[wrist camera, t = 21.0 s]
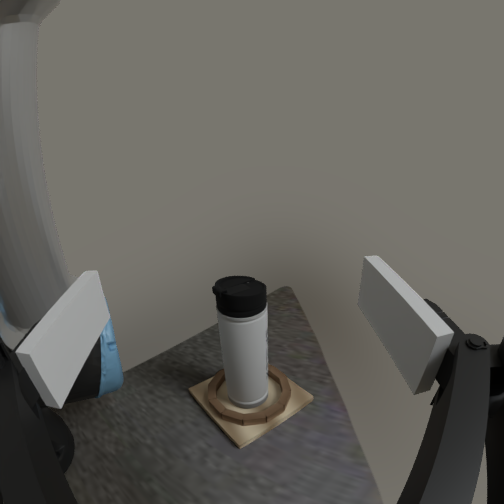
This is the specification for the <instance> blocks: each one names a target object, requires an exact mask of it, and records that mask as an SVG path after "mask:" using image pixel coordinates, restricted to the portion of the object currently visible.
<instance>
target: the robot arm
mask: <svg viewBox="0 0 504 504" xmlns="http://www.w3.org/2000/svg"><path fill="white" fill-rule="evenodd" d="M59 3H60V0H0V504H3V500H4V504H78V503H77V501H76V499H75V497H74V495H73V493H72V491H71V489H70V487H69V484H68V482H67V480H66V478H65V476H64V473H65V472H66V470H67V469H68V467H69V466H70V464H71V461H72V459H73V455H74V439H73V436H72V433H71V431H70V430H69V428H68V427H67V425H66V424H65V422H64V421H63V420H62V419H61V417H60V416H59V415H57V414H56V413H55V412H53V411H52V410H51V409H50V408H48V407H54V408H58V409H61V408H62V406H63V404H67V403H72V402H77V401H81V400H86V399H91V398H99V397H101V396H102V395H104V394H107V393H110V392H114V391H116V390H118V389H119V388H120V387H121V386H122V384H123V372H122V367H121V362H120V358H119V353H118V349H117V346H116V341H115V335H114V331H113V326H112V321H111V317H110V312H109V308H108V304H107V301H106V298H105V297H104V294H103V290H102V286H101V283H100V278H99V275H98V271H85V272H84V273H83V274H82V275H81V276H80V277H79V278H77V277H76V276H73V275H71V274H69V271H68V268H67V265H66V261H65V258H64V255H63V251H62V248H61V244H60V241H59V237H58V233H57V229H56V225H55V221H54V217H53V212H52V208H51V203H50V198H49V193H48V189H47V183H46V177H45V171H44V164H43V158H42V150H41V143H40V132H39V121H38V107H37V44H38V29H39V25H40V24H41V22H42V21H43V20H44V19H45V18H46V16H48V14H49V13H51V12H52V11H53V10H54V9H55V8H56V7H57V6H58V5H59ZM358 306H359V308H360V309H361V311H362V312H363V314H364V315H365V317H366V318H367V320H368V321H369V323H370V325H371V326H372V328H373V329H374V331H375V332H376V334H377V335H378V337H379V338H380V340H381V342H382V343H383V345H384V346H385V348H386V350H387V351H388V353H389V354H390V355H391V358H392V359H393V361H394V362H395V364H396V366H397V368H398V369H399V371H400V372H401V374H402V376H403V377H404V379H405V381H406V382H407V384H408V385H409V387H410V389H411V391H412V393H413V394H414V395H416V394H419V393H422V392H426V391H429V390H430V389H431V387H432V385H433V383H434V380H435V379H436V380H437V381H438V383H439V384H440V386H439V388H438V390H437V392H436V394H435V396H434V398H433V400H432V402H431V404H430V405H433V408H432V411H431V415H430V418H429V422H428V425H427V428H426V431H425V434H424V437H423V440H422V443H421V446H420V449H419V452H418V455H417V457H416V460H415V463H414V465H413V468H412V470H411V473H410V475H409V478H408V480H407V482H406V485H405V487H404V489H403V491H402V494H401V496H400V498H399V500H398V502H397V504H471V503H472V499H473V495H474V492H475V488H476V484H477V480H478V475H479V471H480V465H481V461H482V455H483V449H484V443H485V447H486V458H487V459H486V460H487V504H504V337H503V340H502V342H501V344H498V345H489V344H488V342H487V341H486V340H485V339H484V338H482V337H481V336H478V335H476V334H464V333H463V332H462V330H460V329H459V327H458V326H457V325H456V324H455V323H454V322H453V321H452V320H451V319H450V318H448V316H447V315H446V314H445V313H444V312H443V311H442V310H441V309H440V308H439V307H438V306H437V305H436V304H435V303H433V302H431V301H429V300H428V299H422V298H421V297H420V296H419V295H418V294H417V293H416V292H415V291H414V290H413V289H412V288H411V287H410V286H409V285H408V284H407V283H406V282H405V281H404V280H403V279H402V278H401V277H400V276H399V275H398V274H397V273H395V271H393V270H392V269H391V268H390V267H389V266H388V265H387V264H386V263H385V262H384V261H383V260H382V259H381V258H380V257H379V256H364V261H363V270H362V278H361V285H360V292H359V299H358ZM433 403H434V404H433Z"/></svg>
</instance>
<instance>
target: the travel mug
mask: <svg viewBox="0 0 504 504" xmlns="http://www.w3.org/2000/svg"><path fill="white" fill-rule="evenodd" d="M212 289H213V293H214V294H215V295H216V303H217V306H216V308H217V316H218V325H219V333H220V341H221V349H222V356H223V364H224V371H225V379H226V386H227V393H228V398H229V400H230V402H231V403H232V404H234V405H235V406H237V407H240V408H245V409H250V408H255V407H258V406H260V405H261V404H263V403H264V402H265V401H266V400H267V398H268V326H267V299H266V285H265V284H264V283H262V282H260V281H257V280H255V279H254V278H252V277H247V276H229V277H225V278H222V279H219V280H218V281H217V282H216V283H215V286H213V287H212Z"/></svg>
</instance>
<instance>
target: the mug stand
mask: <svg viewBox="0 0 504 504" xmlns="http://www.w3.org/2000/svg"><path fill="white" fill-rule="evenodd" d="M188 389H189V392H190V394H191V395H192V396H193V397H194V399H195V400H196V401H197V402H198V403H199V404H200V406H201V407H202V408H203V409H204V410H205V411H206V413H207V414H208V415H209V416H210V417H211V418H212V419H213V421H214V422H215V423H216V424H217V425H218V426H219V427H220V428H221V429H222V431H223V432H224V433H225V434H226V435H227V436H228V437H229V438H230V439H231V440H232V441H233V442H234V443H235V444H236V445H237V447H238V448H239V449H241V448H243V447H244V446H246V445H248V444H249V443H251V442H252V441H254V440H256V439H257V438H259V437H261V436H262V435H264V434H265V433H267V432H268V431H270V430H272V429H273V428H275V427H276V426H278V425H279V424H281V423H282V422H284V421H285V420H286V419H288V418H289V417H291V416H292V415H294V414H295V413H297V412H298V411H299V410H301V409H302V408H304V407H305V406H306V405H308V404H309V403H310V402H312V401H313V396H312V395H311V394H309V393H308V392H306V391H305V390H303V389H302V388H301V387H299V386H298V385H296V384H295V383H294V382H292V381H291V380H290V379H288V378H287V376H286V375H285V374H284V373H282V372H281V371H279V370H278V369H277V368H275V367H274V366H272V365H269V364H268V398H267V400H266V401H265V402H264V403H263V404H261V405H260V406H258V407H255V408H250V409H245V408H240V407H237V406H235V405H234V404H232V403H231V402H230V400H229V398H228V393H227V386H226V379H225V371H224V369H222V370H220V371H218V372H217V373H216V375H215V376H214V377H212V378H210V379H208V380H206V381H203V382H201V383H199V384H197V385H195V386H193V387H191V388H188Z"/></svg>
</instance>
